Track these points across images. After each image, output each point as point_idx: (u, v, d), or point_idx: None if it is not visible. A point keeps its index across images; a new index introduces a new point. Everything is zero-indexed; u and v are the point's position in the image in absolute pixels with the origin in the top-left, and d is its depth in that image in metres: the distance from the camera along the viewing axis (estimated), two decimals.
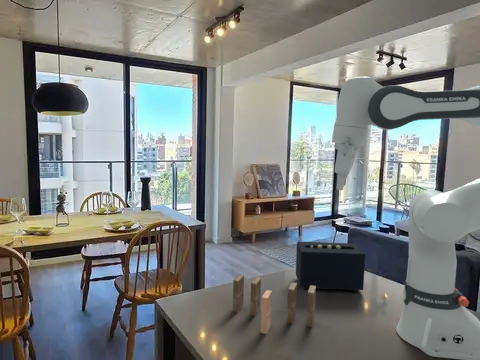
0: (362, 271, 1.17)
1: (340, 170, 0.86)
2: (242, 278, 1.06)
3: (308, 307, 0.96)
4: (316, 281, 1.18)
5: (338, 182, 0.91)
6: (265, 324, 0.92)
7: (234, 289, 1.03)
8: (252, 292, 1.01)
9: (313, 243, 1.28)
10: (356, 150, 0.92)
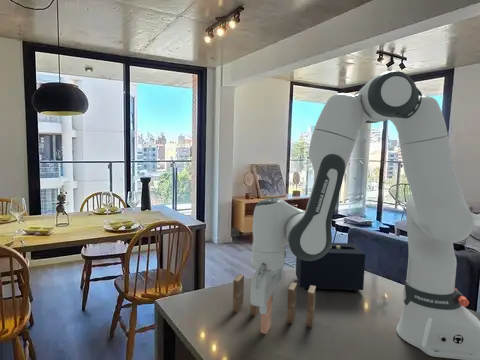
0: (362, 271, 1.17)
1: (255, 304, 0.84)
2: (242, 278, 1.06)
3: (308, 307, 0.96)
4: (316, 281, 1.18)
5: (260, 306, 0.90)
6: (265, 324, 0.92)
7: (234, 289, 1.03)
8: None
9: None
10: (275, 273, 0.90)
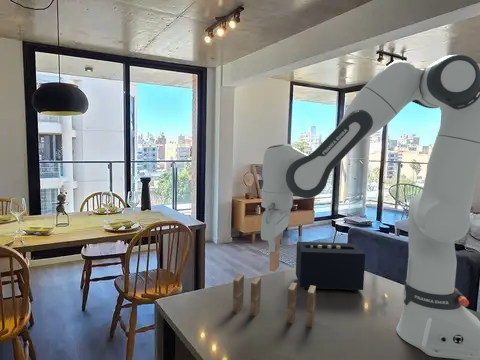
0: (362, 271, 1.17)
1: (265, 238, 0.90)
2: (242, 278, 1.06)
3: (308, 307, 0.96)
4: (316, 281, 1.18)
5: (269, 244, 0.96)
6: (274, 262, 0.98)
7: (234, 289, 1.03)
8: (252, 292, 1.01)
9: (313, 243, 1.28)
10: (283, 213, 0.96)
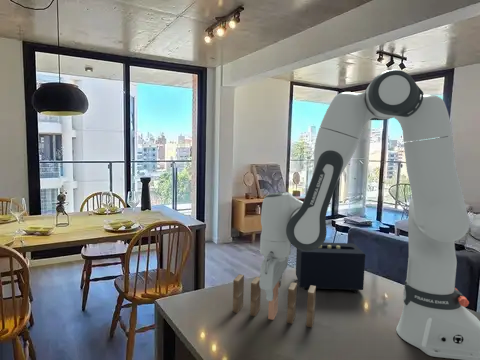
0: (362, 271, 1.17)
1: (264, 288, 0.91)
2: (242, 278, 1.06)
3: (308, 307, 0.96)
4: (316, 281, 1.18)
5: (267, 294, 0.96)
6: (272, 311, 0.99)
7: (234, 289, 1.03)
8: (252, 292, 1.01)
9: None
10: (282, 260, 0.98)
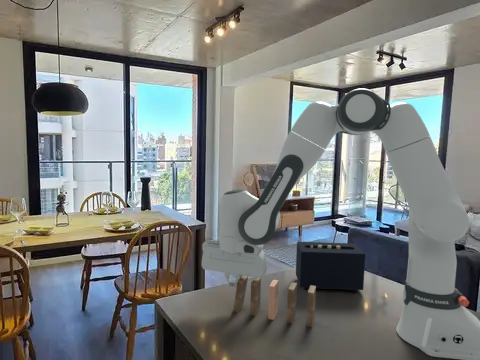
0: (362, 271, 1.17)
1: None
2: (246, 279, 1.05)
3: (308, 307, 0.96)
4: (316, 281, 1.18)
5: None
6: (272, 311, 0.99)
7: (237, 290, 1.02)
8: (252, 292, 1.01)
9: (313, 243, 1.28)
10: (224, 254, 1.03)
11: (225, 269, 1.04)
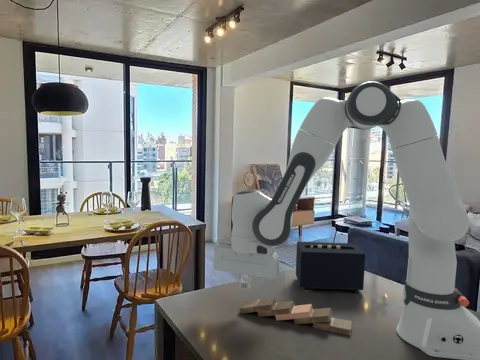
0: (362, 271, 1.17)
1: None
2: None
3: (333, 327, 0.94)
4: (316, 281, 1.18)
5: None
6: (284, 318, 0.98)
7: (262, 306, 1.00)
8: (280, 310, 0.99)
9: (313, 243, 1.28)
10: (237, 254, 1.01)
11: (237, 270, 1.03)
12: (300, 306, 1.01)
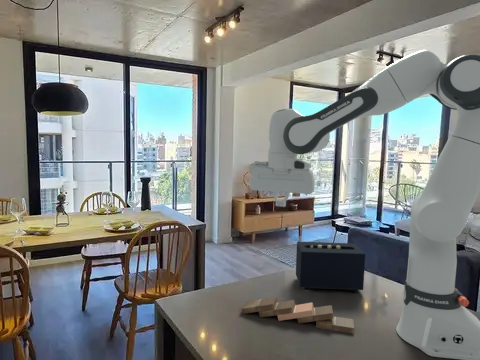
0: (362, 271, 1.17)
1: None
2: None
3: (337, 326, 0.94)
4: (316, 281, 1.18)
5: None
6: (287, 318, 0.98)
7: (264, 306, 1.01)
8: (282, 310, 0.99)
9: (313, 243, 1.28)
10: (274, 172, 1.06)
11: (274, 188, 1.07)
12: (301, 305, 1.01)
